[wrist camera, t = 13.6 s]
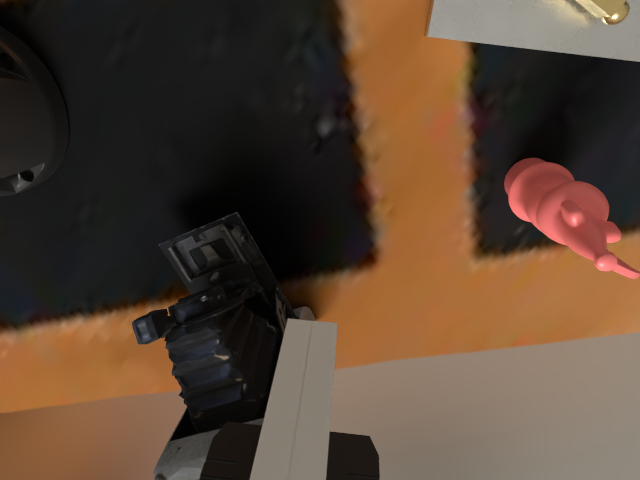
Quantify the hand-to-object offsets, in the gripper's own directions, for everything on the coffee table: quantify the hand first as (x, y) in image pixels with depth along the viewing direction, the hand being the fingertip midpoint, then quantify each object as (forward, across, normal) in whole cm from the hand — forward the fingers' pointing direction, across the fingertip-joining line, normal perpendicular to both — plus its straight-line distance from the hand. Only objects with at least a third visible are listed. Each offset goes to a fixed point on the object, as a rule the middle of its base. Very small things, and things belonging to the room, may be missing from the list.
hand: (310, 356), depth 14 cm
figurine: (+27, +16, -2) cm, 32 cm away
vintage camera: (+28, -8, -15) cm, 33 cm away
